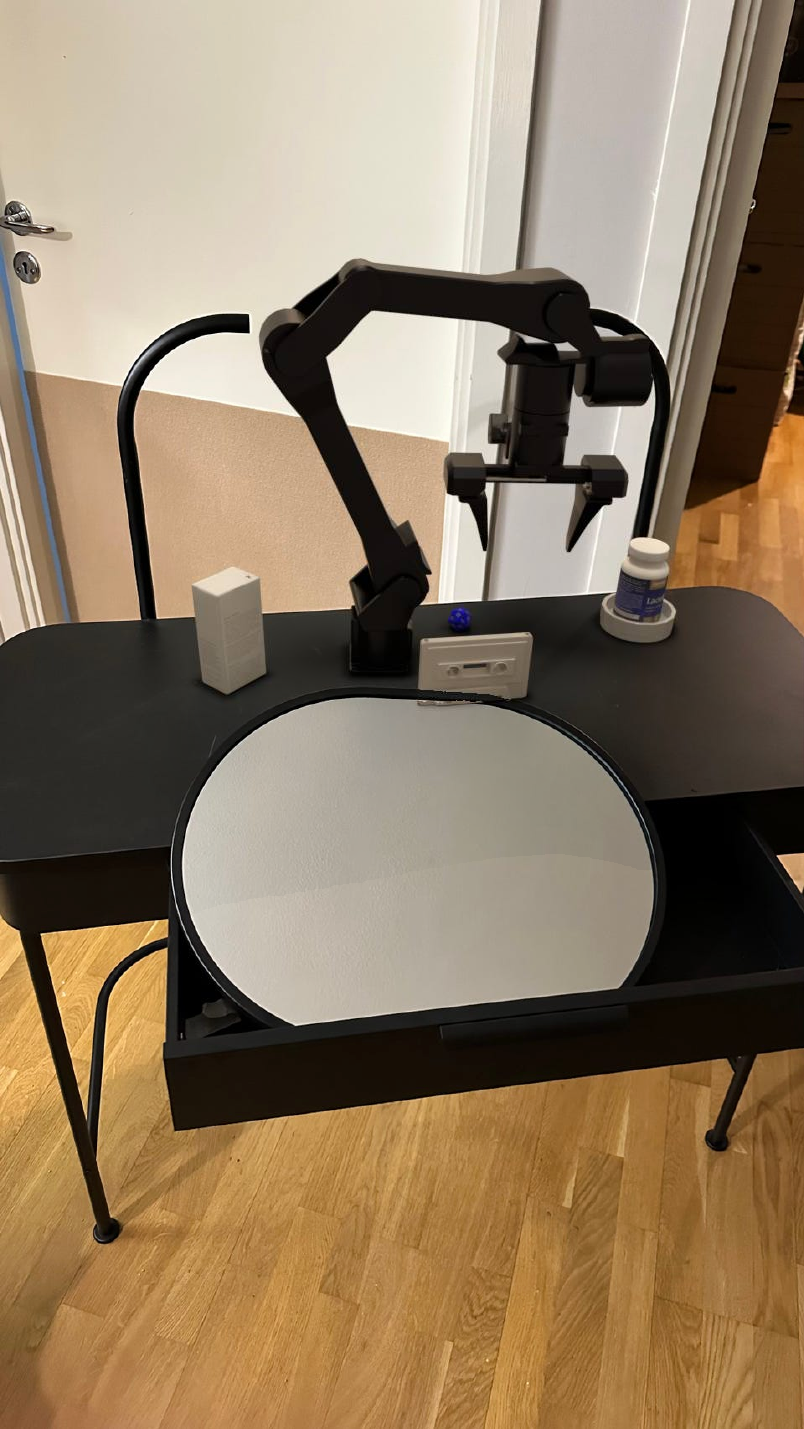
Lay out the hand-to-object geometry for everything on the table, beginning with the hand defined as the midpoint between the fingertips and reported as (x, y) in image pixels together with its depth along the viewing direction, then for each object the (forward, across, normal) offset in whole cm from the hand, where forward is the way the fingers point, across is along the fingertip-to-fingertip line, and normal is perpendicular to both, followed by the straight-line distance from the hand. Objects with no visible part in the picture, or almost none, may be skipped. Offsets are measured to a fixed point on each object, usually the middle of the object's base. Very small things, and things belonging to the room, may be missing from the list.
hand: (526, 550), depth 107 cm
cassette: (+13, +6, +10) cm, 18 cm away
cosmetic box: (+13, +32, +6) cm, 35 cm away
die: (+13, +6, -6) cm, 16 cm away
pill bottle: (+12, -16, -7) cm, 21 cm away
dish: (+13, -16, -7) cm, 22 cm away
